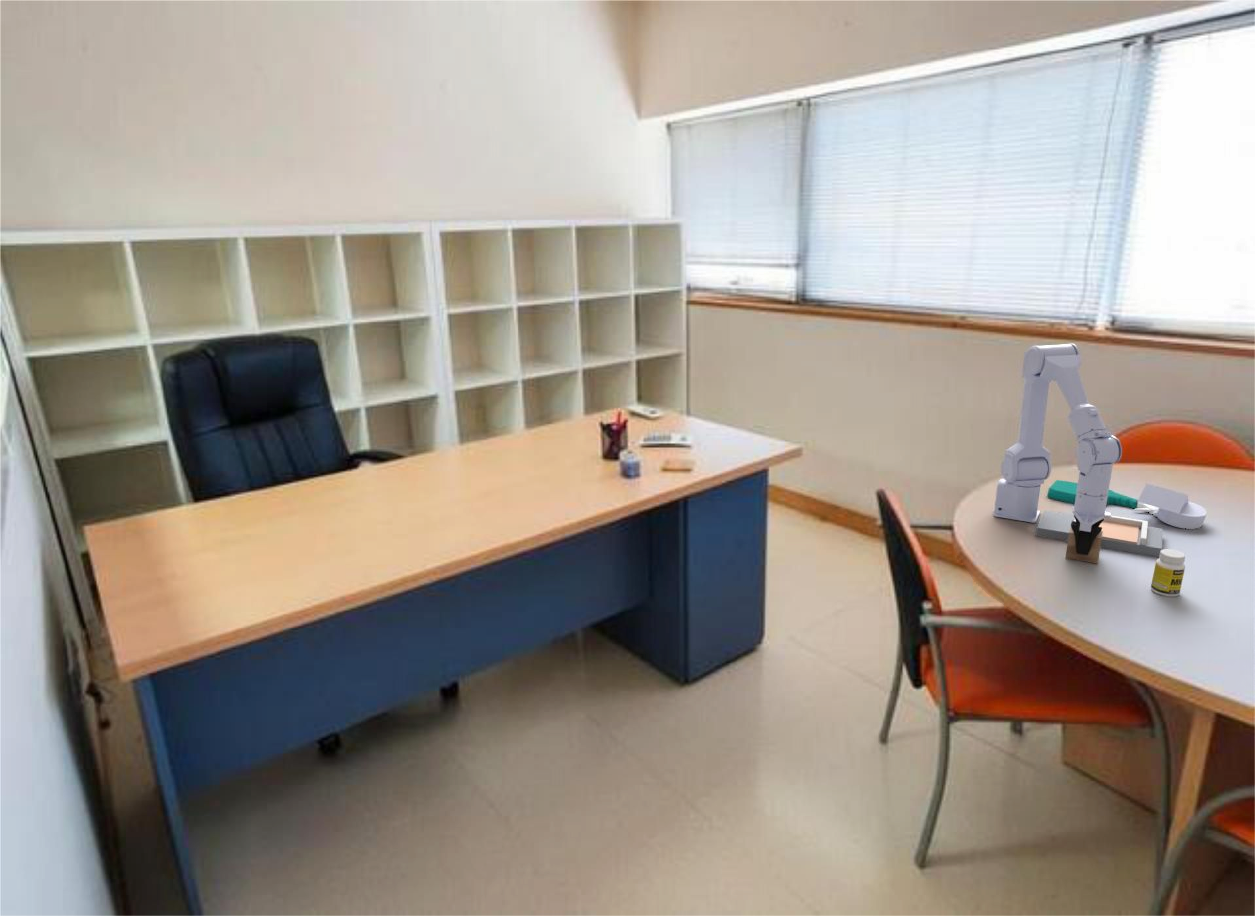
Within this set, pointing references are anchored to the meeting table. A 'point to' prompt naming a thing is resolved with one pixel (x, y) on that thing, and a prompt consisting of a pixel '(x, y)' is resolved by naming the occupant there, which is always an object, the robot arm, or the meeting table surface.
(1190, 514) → the wedge on round base
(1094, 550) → the brown rectangular block
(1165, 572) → the supplement bottle
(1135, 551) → the frame
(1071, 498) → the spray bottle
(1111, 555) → the meeting table surface
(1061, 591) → the meeting table surface
